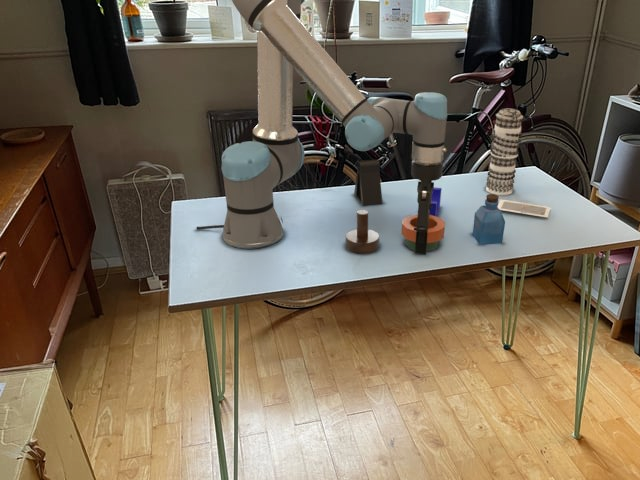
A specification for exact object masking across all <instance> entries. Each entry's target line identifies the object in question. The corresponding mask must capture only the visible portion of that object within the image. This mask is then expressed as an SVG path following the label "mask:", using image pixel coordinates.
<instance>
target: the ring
mask: <svg viewBox="0 0 640 480" xmlns="http://www.w3.org/2000/svg"><path fill="white" fill-rule="evenodd" d="M417 218H418V213H416V214H410V215H408V216H406V217H404V218H403V219H402V220H401V233H400V234H401V235H402V237H404V238H405V240H406V239H408V240H410V241H413V242H416V231H414V228H416V227H417ZM445 227H446V222H445V221H444V220H443V219H442V218H440V217H439V216H437V217H436V216H433V215H429V227H428V228H429V229H428V231H427V243H431V242H437V241H438V242H439V241H440V240H443V239H444V237H445Z"/></svg>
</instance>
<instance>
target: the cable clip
mask: <svg viewBox="0 0 640 480" xmlns="http://www.w3.org/2000/svg"><path fill="white" fill-rule="evenodd" d="M441 198H442V187H436V186H434V189H433V193H432V200H431V204H430V205H433V209H429V210H430V215H433V216H436V217H438V215H439V211H440V208H441V200H442V199H441Z"/></svg>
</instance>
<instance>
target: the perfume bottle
mask: <svg viewBox="0 0 640 480" xmlns="http://www.w3.org/2000/svg"><path fill="white" fill-rule="evenodd" d="M499 197H500V195H496V194H492V193H488V194H486V196H485V199H484V205H480V206H479V207H478V209H477V210H476V211H475V212H474V216H473V217H474V219H473V224H472V225H473V227H472V235H473V237H474V239H475V240H476V242H477V243H478V245H496V244H497V245H498V244H503V239H504V233H505V227H506V220H505V218H504V215H503V213H502V210H500V209H499V208H498V207H497V206H498V204H499V201H500V200H499Z"/></svg>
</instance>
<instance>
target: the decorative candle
mask: <svg viewBox="0 0 640 480" xmlns="http://www.w3.org/2000/svg"><path fill="white" fill-rule="evenodd" d="M495 116H496V117H495V124H494V129H493V130H492V131H491V137H490V140H491V143H490V149H489V151H490V155H491V157H490V161H489V167H488V169H487V177H486V184H485V186H486V187H485V190H486V192H488V193H489V194H495V195H498V196H508V195H510V194H512V193H513V190H514V189H513V188H514V183H515V179H514V178H516V173H517V170H516V165H517V164H516V160H517V157H519V153H520V152H519V150H518V149H519V148H521V145H520V143H521V142H522V139H521V138H520V137H523V133H522V131H523V128H522V120H523V118H524V115H523V114H522V113H521V112H520V110H518V109H516V108H508V107H507V108H501V109H500V110H499V111H498V112H497V113H495Z"/></svg>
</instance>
